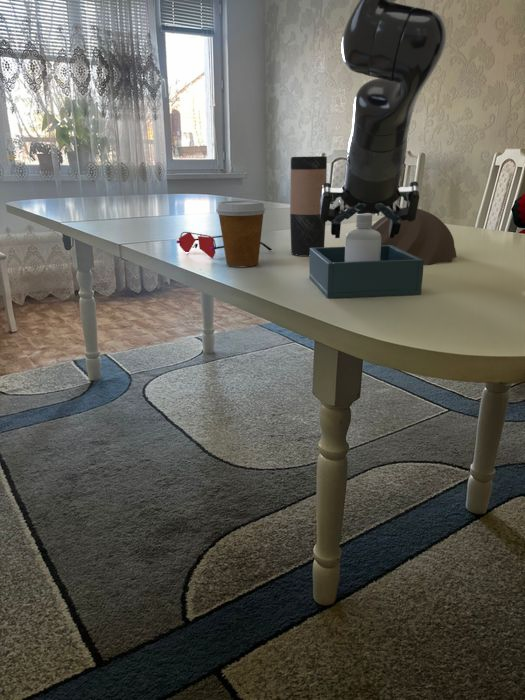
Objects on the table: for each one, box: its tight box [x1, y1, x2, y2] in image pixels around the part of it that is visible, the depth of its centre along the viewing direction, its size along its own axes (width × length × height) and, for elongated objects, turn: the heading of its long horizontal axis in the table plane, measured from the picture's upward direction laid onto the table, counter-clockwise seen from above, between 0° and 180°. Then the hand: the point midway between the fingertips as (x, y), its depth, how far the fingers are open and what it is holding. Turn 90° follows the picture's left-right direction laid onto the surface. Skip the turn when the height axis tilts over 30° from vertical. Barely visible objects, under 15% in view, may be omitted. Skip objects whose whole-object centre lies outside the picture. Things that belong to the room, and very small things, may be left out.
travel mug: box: [289, 155, 328, 255], centre depth 115 cm, size 8×8×20 cm
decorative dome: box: [371, 208, 457, 266], centre depth 112 cm, size 19×20×10 cm
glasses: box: [175, 231, 273, 259], centre depth 121 cm, size 14×16×5 cm
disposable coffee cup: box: [215, 200, 267, 267], centre depth 106 cm, size 10×10×12 cm
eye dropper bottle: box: [344, 213, 381, 262], centre depth 87 cm, size 4×6×12 cm
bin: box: [308, 245, 425, 299], centre depth 88 cm, size 15×15×5 cm
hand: (363, 233), depth 87 cm, fingers open, 8 cm apart
